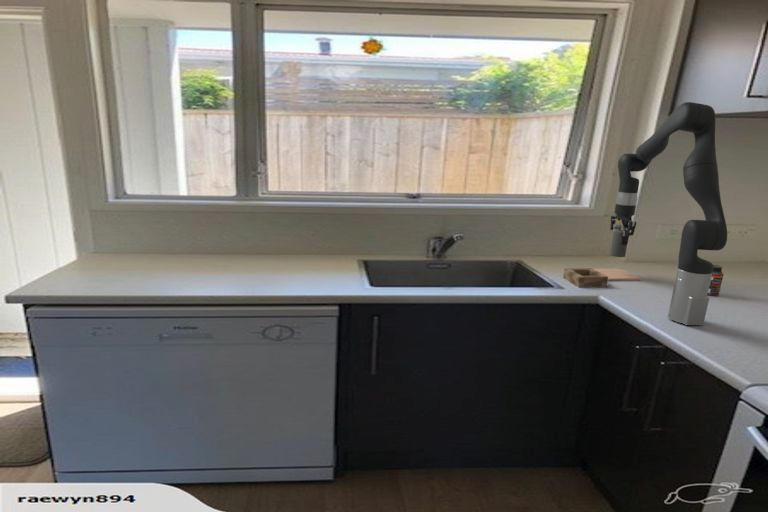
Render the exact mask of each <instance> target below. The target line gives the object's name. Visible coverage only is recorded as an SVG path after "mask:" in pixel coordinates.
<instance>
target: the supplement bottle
mask: <svg viewBox="0 0 768 512" xmlns="http://www.w3.org/2000/svg"><path fill="white" fill-rule="evenodd" d="M722 269H723V267H722V266H721V265H717V264H713V272H712V276H711V280H710V285H709V289H708V294H707V296H708V297H709V296H710V297H716V296H719V295H720V291H721V288H722V287H721V285H722V282H723V279H724V273H723V271H722Z"/></svg>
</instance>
